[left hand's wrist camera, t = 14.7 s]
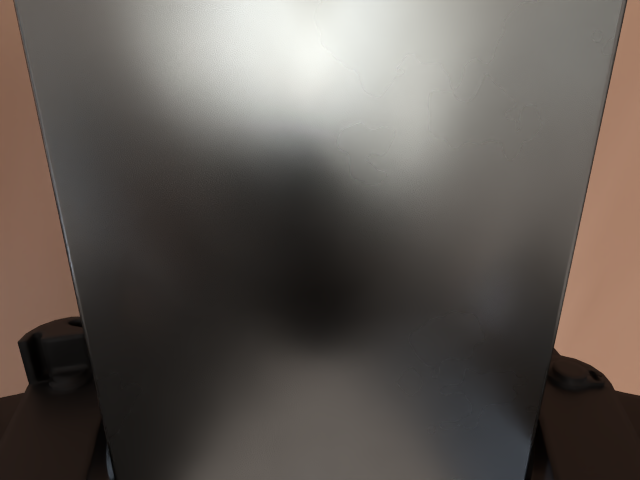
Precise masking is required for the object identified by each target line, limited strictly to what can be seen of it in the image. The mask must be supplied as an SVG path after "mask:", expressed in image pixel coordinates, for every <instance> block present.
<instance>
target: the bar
mask: <svg viewBox="0 0 640 480" xmlns="http://www.w3.org/2000/svg"><path fill="white" fill-rule="evenodd" d="M13 2H14V6H15V11H16V16H17V21H18V25H19V30H20V35H21V39H22V44H23V49H24V54H25V58H26V63H27V68H28V72H29V77H30V82H31V87H32V91H33V96H34V101H35V106H36V110H37V115H38V120H39V124H40V129H41V134H42V139H43V143H44V148H45V153H46V157H47V162H48V167H49V172H50V176H51V181H52V186H53V190H54V195H55V200H56V205H57V209H58V214H59V219H60V224H61V228H62V233H63V238H64V242H65V247H66V252H67V257H68V261H69V266H70V271H71V275H72V280H73V285H74V290H75V294H76V299H77V304H78V309H79V313H80V318H81V323H82V327H83V332H84V337H85V342H86V346H87V351H88V356H89V360H90V365H91V370H92V375H93V379H94V384H95V389H96V393H97V398H98V403H99V408H100V412H101V417H102V422H103V427H104V431H105V436H106V441H107V445H108V450H109V455H110V460H111V464H112V469H113V474H114V478H115V480H526V476H527V471H528V467H529V462H530V457H531V453H532V448H533V443H534V438H535V434H536V429H537V424H538V419H539V415H540V410H541V405H542V401H543V396H544V391H545V386H546V382H547V377H548V372H549V367H550V363H551V358H552V353H553V349H554V344H555V339H556V334H557V330H558V325H559V320H560V315H561V311H562V306H563V301H564V297H565V292H566V287H567V282H568V278H569V273H570V268H571V264H572V259H573V254H574V249H575V245H576V240H577V235H578V230H579V226H580V221H581V216H582V212H583V207H584V202H585V197H586V193H587V188H588V183H589V178H590V174H591V169H592V164H593V160H594V155H595V150H596V145H597V141H598V136H599V131H600V126H601V122H602V117H603V112H604V108H605V103H606V98H607V93H608V89H609V84H610V79H611V75H612V70H613V65H614V60H615V56H616V51H617V46H618V41H619V37H620V32H621V27H622V23H623V18H624V13H625V8H626V4H627V0H13Z"/></svg>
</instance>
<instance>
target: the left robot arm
mask: <svg viewBox="0 0 640 480" xmlns="http://www.w3.org/2000/svg"><path fill="white" fill-rule="evenodd" d="M18 346H19V349H20V353H21V357H22V360H23V364H24V368H25V371H26V375H27V379H28V382H29V385H28V387H27V389H26V391H25V393H21V394H17V395H12V396H7V397H2V398H0V480H115V478H114V474H113V469H112V464H111V460H110V455H109V450H108V445H107V441H106V436H105V431H104V427H103V422H102V417H101V412H100V408H99V403H98V398H97V393H96V389H95V384H94V379H93V375H92V370H91V365H90V360H89V356H88V351H87V346H86V342H85V337H84V332H83V327H82V323H81V318H80V317H68V318H63V319H59V320H54V321H52V322H49V323H46V324H43V325H41V326H38V327H37V328H35V329H33V330H31V331H30V332H28V333H26V334H25V335H24V336H23V337H22V338H21V339H20V340H19V341H18ZM526 480H640V396H638V395H633V394H628V393H623V392H619V391H616V390H614V388H613V386H612V384H611V383H610V381H609V380H608V379H607V378H606V377H605V375H604V374H603V373H601V372H600V371H598V370H597V369H595V368H594V367H592V366H591V365H589V364H586V363H584V362H582V361H579V360H577V359H574V358H569V357H565V356H561V355H560V354H559V353H558V352H557V351H556V350H555V349H553V353H552V358H551V363H550V367H549V372H548V377H547V382H546V386H545V391H544V396H543V401H542V405H541V410H540V415H539V419H538V424H537V429H536V434H535V438H534V443H533V448H532V453H531V457H530V462H529V467H528V471H527V476H526Z"/></svg>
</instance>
